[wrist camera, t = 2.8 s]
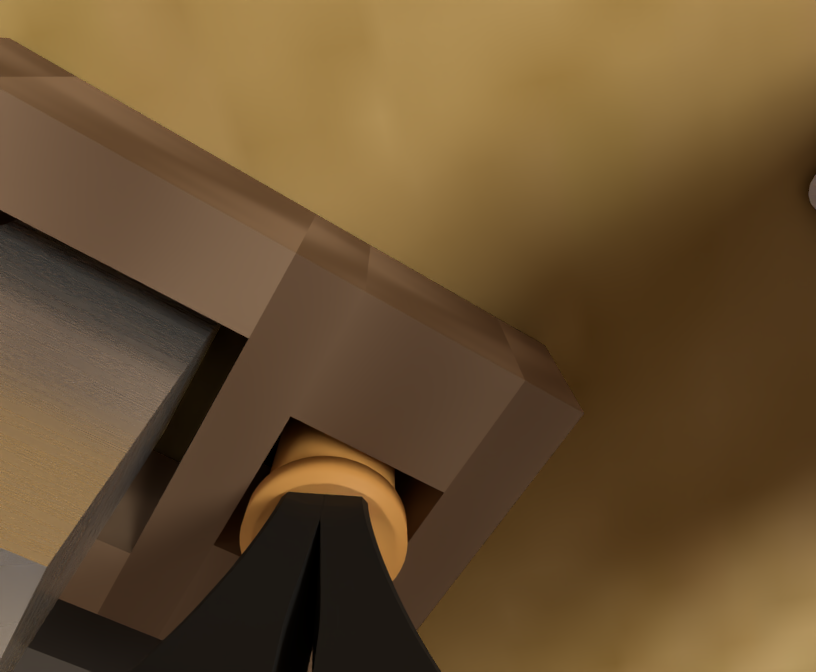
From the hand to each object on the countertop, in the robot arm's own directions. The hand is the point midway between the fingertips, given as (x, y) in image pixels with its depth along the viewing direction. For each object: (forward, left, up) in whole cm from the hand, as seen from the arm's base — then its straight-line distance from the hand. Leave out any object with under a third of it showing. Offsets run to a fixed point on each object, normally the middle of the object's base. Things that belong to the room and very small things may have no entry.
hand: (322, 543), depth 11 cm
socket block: (+3, 0, -4) cm, 5 cm away
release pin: (0, 0, -3) cm, 3 cm away
